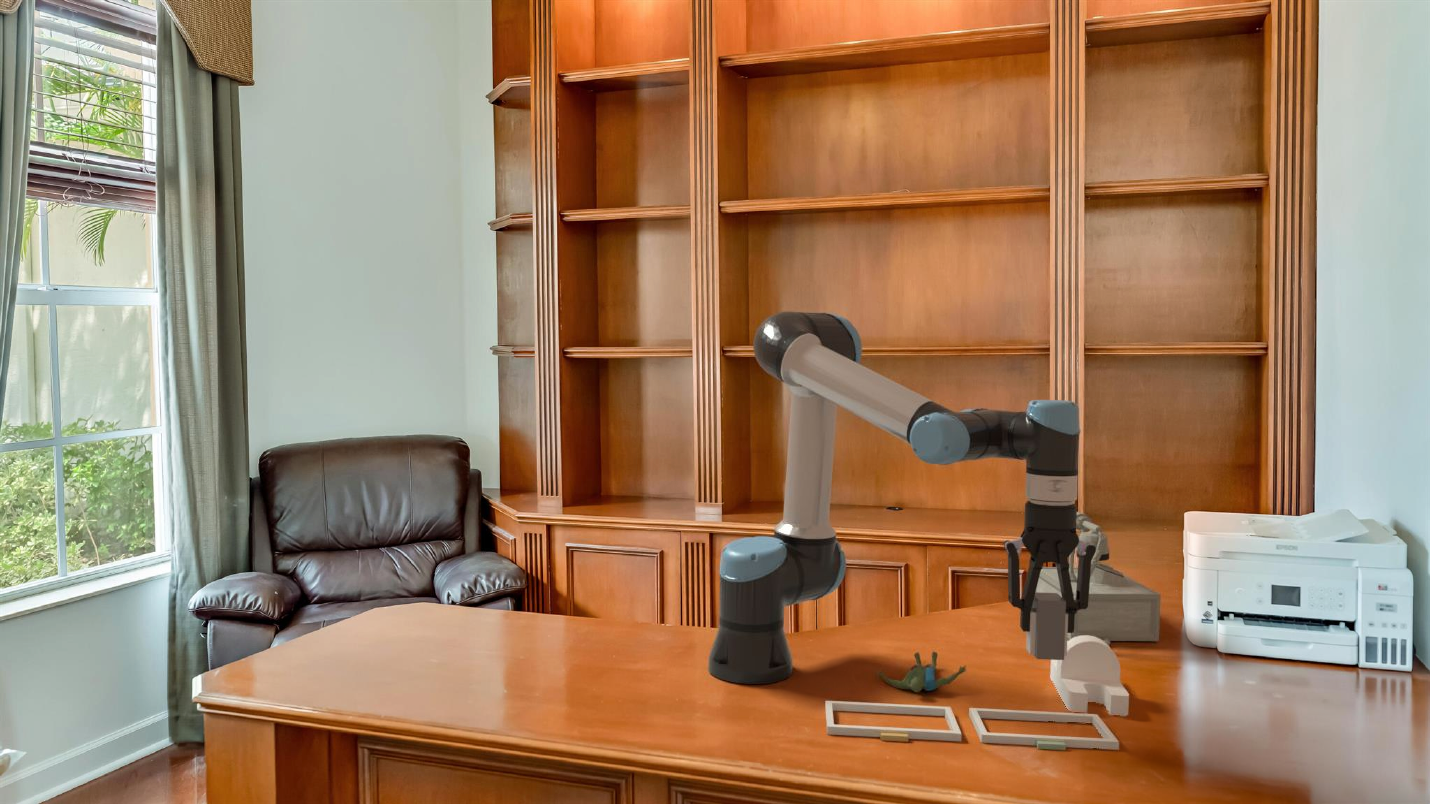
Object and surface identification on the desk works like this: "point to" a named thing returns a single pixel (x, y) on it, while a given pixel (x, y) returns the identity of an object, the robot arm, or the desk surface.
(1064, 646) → the robot arm
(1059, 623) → the plug
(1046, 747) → the socket
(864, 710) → the socket
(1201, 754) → the desk surface
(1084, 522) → the rotary telephone
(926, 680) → the figurine
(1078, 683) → the white slotted bracket
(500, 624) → the desk surface
